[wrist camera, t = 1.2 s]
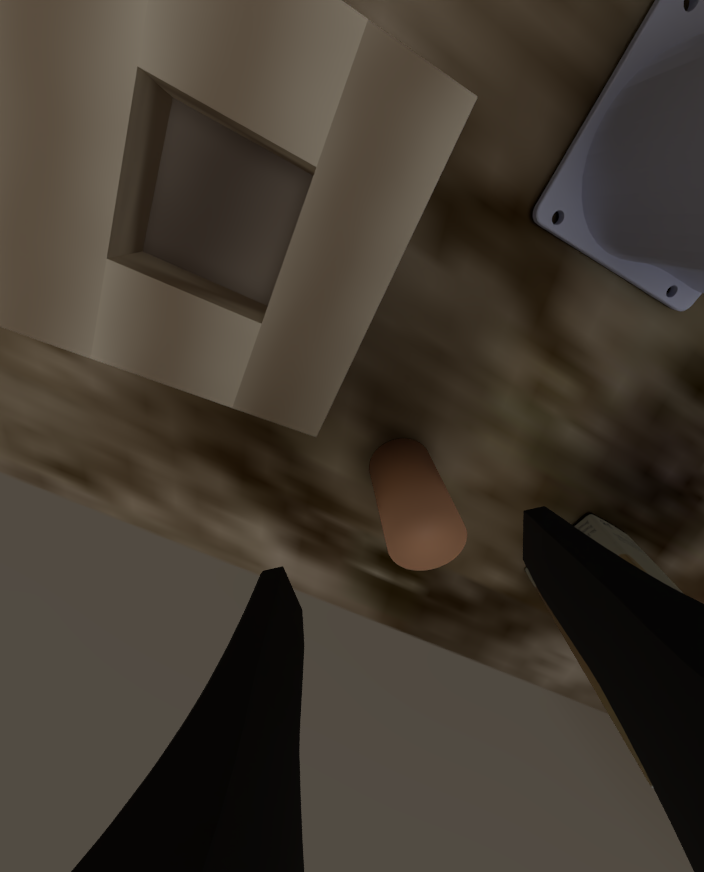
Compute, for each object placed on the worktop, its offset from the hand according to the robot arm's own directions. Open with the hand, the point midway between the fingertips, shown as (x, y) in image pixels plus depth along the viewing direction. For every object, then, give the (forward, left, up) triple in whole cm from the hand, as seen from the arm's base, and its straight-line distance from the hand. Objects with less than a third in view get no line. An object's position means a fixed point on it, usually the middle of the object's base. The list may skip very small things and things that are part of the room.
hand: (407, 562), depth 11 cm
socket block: (+9, -6, -10) cm, 14 cm away
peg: (-3, +2, -10) cm, 11 cm away
